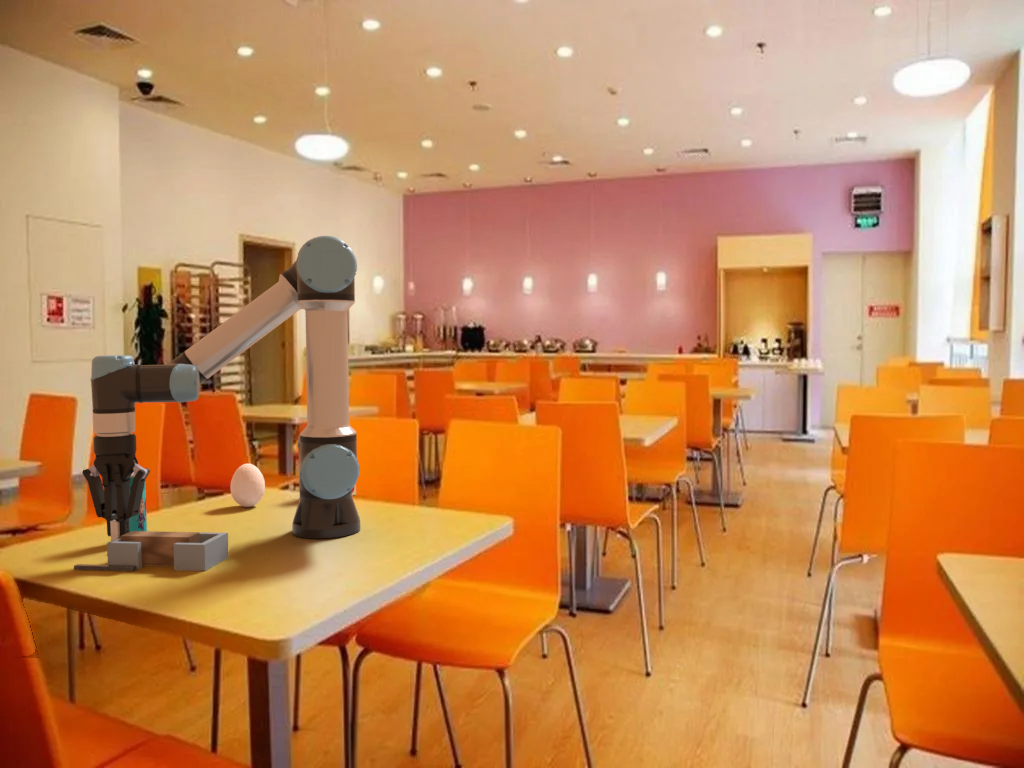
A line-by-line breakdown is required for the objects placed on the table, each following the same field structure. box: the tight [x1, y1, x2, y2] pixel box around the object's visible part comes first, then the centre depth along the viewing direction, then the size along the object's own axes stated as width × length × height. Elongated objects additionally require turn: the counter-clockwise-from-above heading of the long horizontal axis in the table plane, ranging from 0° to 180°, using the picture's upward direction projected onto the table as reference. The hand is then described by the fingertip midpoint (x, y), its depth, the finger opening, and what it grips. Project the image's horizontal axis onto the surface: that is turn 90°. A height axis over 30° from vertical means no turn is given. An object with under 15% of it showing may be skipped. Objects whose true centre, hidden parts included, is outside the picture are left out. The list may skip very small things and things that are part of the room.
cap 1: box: [106, 530, 160, 570], centre depth 159 cm, size 6×10×5 cm, turn 174°
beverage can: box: [129, 472, 148, 532], centre depth 175 cm, size 6×6×15 cm
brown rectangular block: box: [121, 530, 200, 567], centre depth 158 cm, size 14×4×6 cm, turn 84°
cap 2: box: [173, 531, 229, 572], centre depth 157 cm, size 6×10×5 cm, turn 174°
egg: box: [229, 463, 266, 508], centre depth 211 cm, size 9×9×11 cm
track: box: [73, 563, 137, 572], centre depth 159 cm, size 12×12×1 cm
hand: (119, 552), depth 159 cm, fingers closed
